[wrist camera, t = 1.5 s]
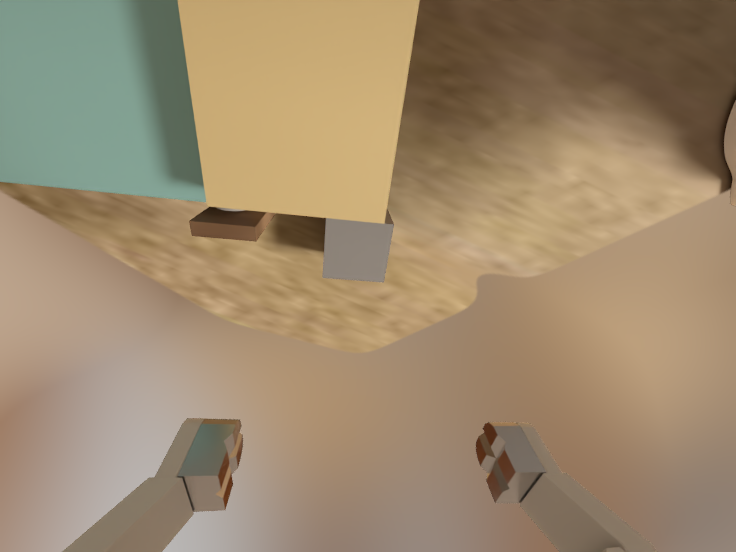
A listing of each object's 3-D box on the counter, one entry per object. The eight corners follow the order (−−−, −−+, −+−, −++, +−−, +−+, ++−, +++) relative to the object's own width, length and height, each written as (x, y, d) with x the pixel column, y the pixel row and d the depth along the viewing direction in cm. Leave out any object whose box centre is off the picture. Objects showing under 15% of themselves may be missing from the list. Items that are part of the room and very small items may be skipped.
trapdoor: (410, -92, 10) (458, -246, 6) (371, 204, 15) (381, 242, 11) (-230, -239, 8) (-918, -659, 4) (-29, 162, 13) (-219, 187, 9)
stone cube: (385, 205, 26) (393, 224, 22) (377, 256, 28) (383, 282, 24) (329, 199, 25) (326, 217, 21) (326, 251, 28) (322, 277, 23)
